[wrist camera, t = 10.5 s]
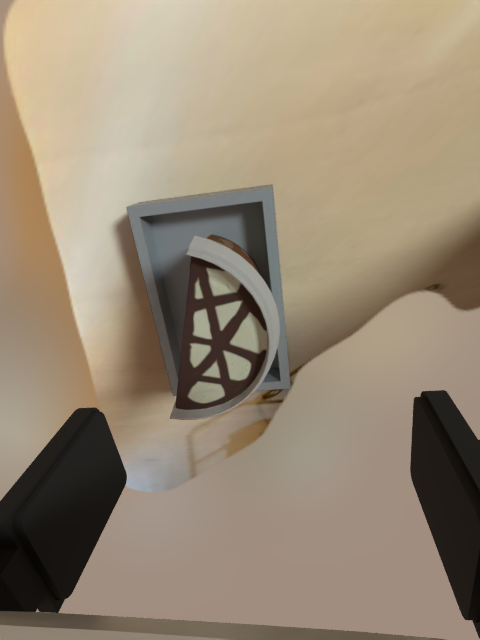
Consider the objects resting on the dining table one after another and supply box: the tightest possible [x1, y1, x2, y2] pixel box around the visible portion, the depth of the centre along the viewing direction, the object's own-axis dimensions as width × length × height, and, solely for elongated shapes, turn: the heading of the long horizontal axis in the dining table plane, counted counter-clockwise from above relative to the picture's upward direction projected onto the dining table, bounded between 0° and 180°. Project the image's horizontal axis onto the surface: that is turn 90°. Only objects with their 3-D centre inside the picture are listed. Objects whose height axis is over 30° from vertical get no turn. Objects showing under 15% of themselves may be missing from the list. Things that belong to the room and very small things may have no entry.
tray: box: [126, 185, 291, 396], centre depth 30 cm, size 11×17×3 cm, turn 8°
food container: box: [170, 234, 280, 420], centre depth 26 cm, size 12×6×10 cm, turn 171°
